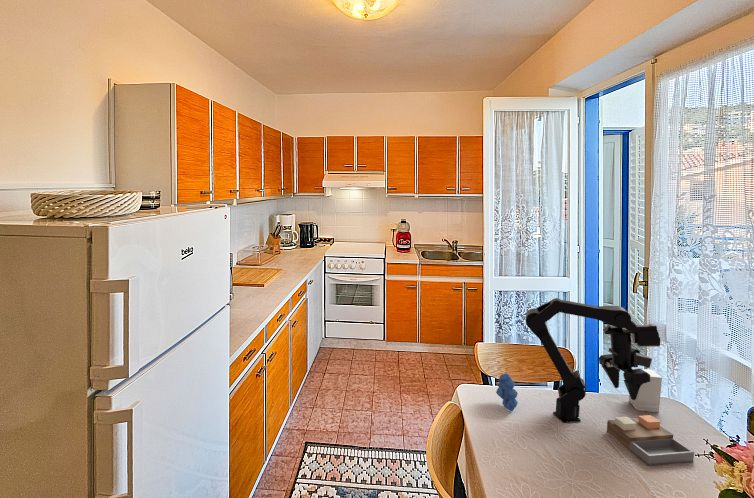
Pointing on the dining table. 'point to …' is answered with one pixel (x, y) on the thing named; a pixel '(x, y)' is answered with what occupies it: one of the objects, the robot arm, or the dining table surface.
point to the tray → (661, 451)
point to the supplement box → (648, 394)
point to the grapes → (507, 391)
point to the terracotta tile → (649, 421)
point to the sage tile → (625, 423)
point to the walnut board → (636, 433)
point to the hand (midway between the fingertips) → (624, 393)
